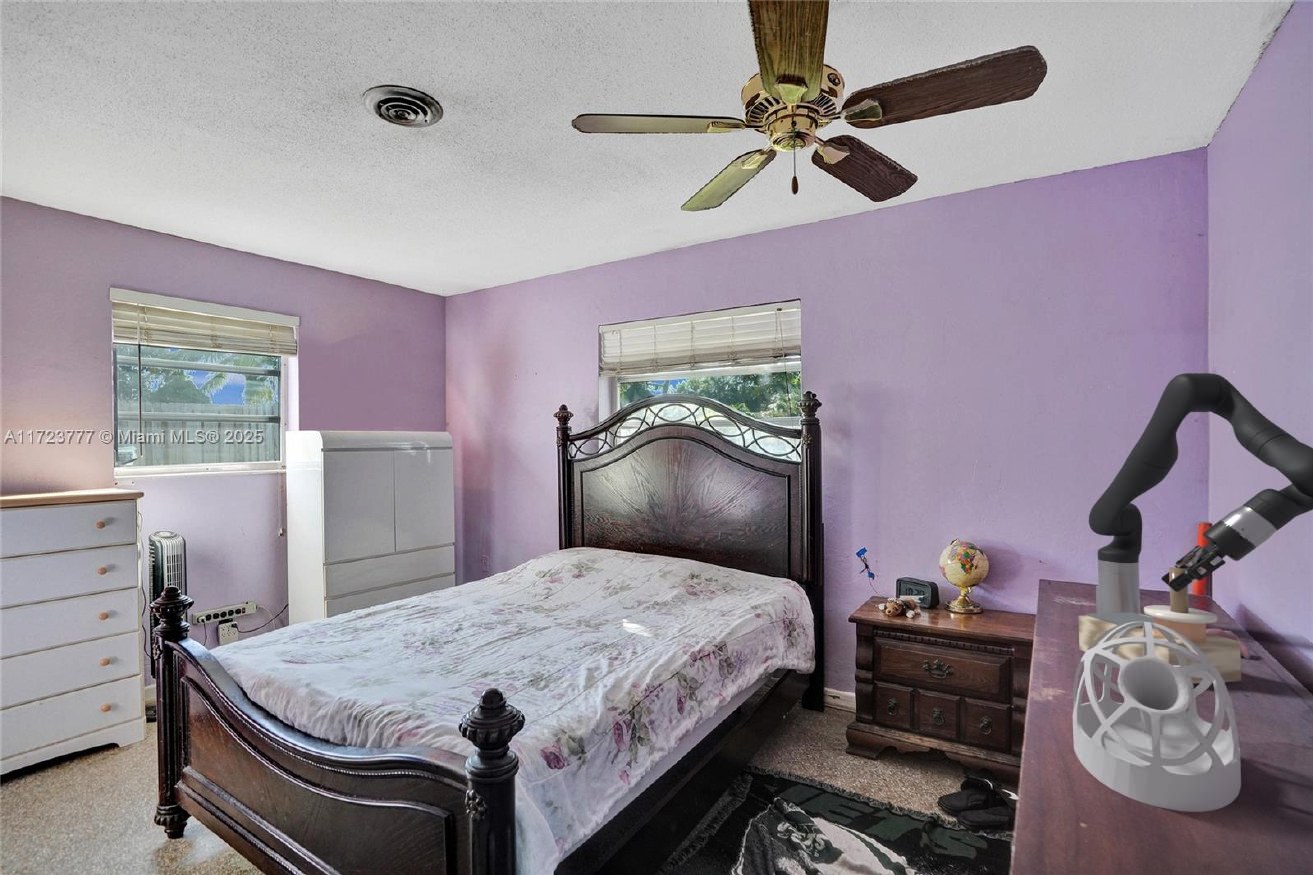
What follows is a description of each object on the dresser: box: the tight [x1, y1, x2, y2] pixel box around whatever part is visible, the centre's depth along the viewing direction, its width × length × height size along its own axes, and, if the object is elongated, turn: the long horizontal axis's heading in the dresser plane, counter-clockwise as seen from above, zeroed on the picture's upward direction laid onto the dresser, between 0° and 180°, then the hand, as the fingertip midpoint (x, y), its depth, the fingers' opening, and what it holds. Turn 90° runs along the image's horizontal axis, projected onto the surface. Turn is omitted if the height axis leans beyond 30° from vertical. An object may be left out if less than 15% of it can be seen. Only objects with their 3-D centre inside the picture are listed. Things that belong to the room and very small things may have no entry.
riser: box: [1078, 613, 1242, 684], centre depth 143 cm, size 24×16×8 cm, turn 6°
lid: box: [1143, 567, 1218, 625], centre depth 137 cm, size 12×12×10 cm
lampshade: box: [1072, 622, 1242, 813], centre depth 95 cm, size 20×26×20 cm
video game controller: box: [1206, 628, 1251, 660], centre depth 149 cm, size 10×5×7 cm, turn 86°
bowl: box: [1154, 617, 1207, 641], centre depth 136 cm, size 8×8×4 cm
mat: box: [1085, 612, 1154, 628], centre depth 149 cm, size 12×12×1 cm
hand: (1168, 585), depth 137 cm, fingers open, 6 cm apart
